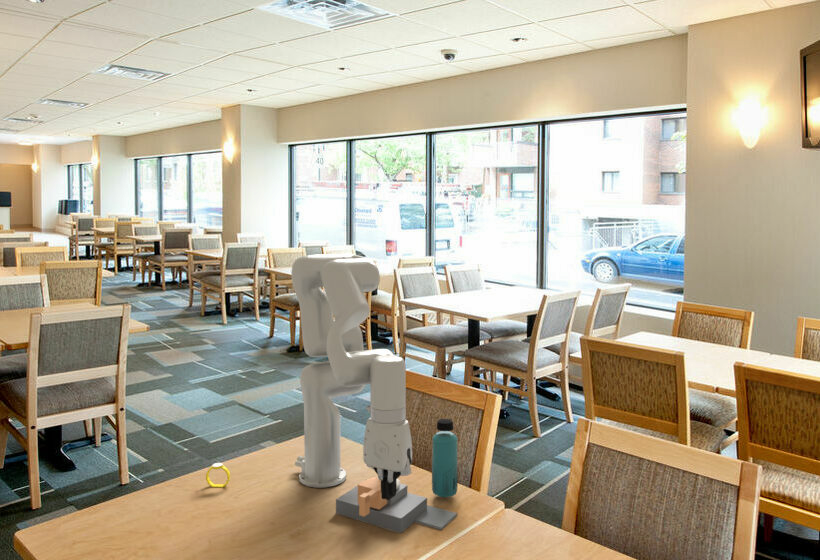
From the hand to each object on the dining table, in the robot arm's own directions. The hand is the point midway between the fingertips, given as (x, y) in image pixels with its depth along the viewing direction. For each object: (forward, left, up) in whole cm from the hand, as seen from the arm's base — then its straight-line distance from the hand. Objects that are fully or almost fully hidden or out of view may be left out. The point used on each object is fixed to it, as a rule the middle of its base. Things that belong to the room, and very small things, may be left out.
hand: (388, 497), depth 137 cm
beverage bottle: (0, +26, -10) cm, 28 cm away
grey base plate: (-9, +11, -10) cm, 17 cm away
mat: (+3, +15, -10) cm, 18 cm away
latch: (-9, +5, -6) cm, 12 cm away
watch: (-53, +1, -10) cm, 54 cm away
